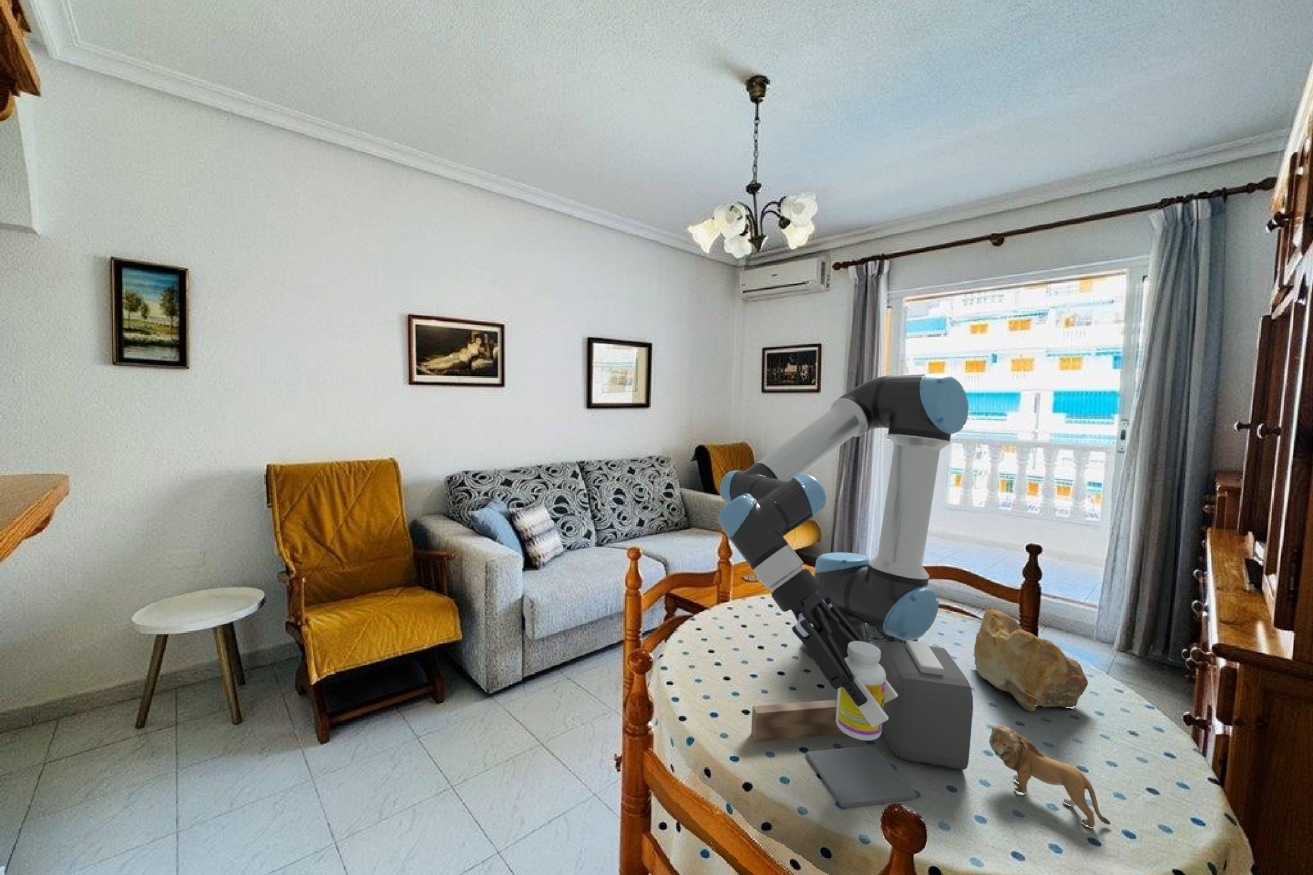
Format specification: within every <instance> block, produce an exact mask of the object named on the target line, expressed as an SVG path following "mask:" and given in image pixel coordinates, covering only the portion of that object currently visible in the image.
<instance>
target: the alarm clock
mask: <svg viewBox="0 0 1313 875" xmlns="http://www.w3.org/2000/svg"><path fill="white" fill-rule="evenodd" d="M878 648H879V649H880V651H881V657H880V660H879V662H878V664H880V665H881V666H882V667H883V669H884V671H885V673H886V680H887V681H888V683H889V684H890V685H891V687H892V688H893V689H894V690H895V692H896V693H897V694H898V696H897V697H896V698H894V699H892V700H890V701H888V702H887V703H885V704H884V709H883V711H884V712H885V713H886V715H887V716H888V717H889V718H888V720H887V721H885V722H883V723H882V731H883V733H884V735H885V739H886V742H887V745H888V746H889V748H890V750H891V751H893V753H895V755H896V756H897V757H898V758H900V759H903V760H905V761H909V762H915V763H921V764H927V765H933V766H937V767H944V768H945V767H946V768H951V769H956V770H963V771H964V770H966V769H968V766H969V761H970V750H971V748H970V747H971V738H972V727H973V725H972V723H973V711H974V696H973V691H972V687H971V684H970V682H969V680H968V679H967V677H966V675H965V674H964V673H963V671H962V670H961V669H960V667H959V666H958V664H957V663H956V662H955V660H954V659H953V657H952V656H951V654H949V652H948V650H947V649H946V648H944V647H941V646H931V645H928V643H927V642H926V641H925V642H924V641H910V640H907V641H906V643H900V642H889V641H887V642H885V643H883V644H882V645H881V646H879V647H878Z"/></svg>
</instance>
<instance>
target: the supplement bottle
mask: <svg viewBox="0 0 1313 875" xmlns="http://www.w3.org/2000/svg"><path fill="white" fill-rule="evenodd" d="M879 648H880V647H877V645H874V644H873V643H871V642H870V643H867V642H862V641H853V642H850V643H849V644H848V649H847V653H848V657H846V658H844V660H845V661H846V663H847V665H848V667H849V669H850V670H851V672H852V674H853V676H854V678H855V677H856V676H858V677H859V679H860V680H861V681H862V683H863V684H864V685H865V687H866V688H867V689H868V691H869V692H870V693H871V695H872V696H873V697H874V699H875V700H876V701H877V703H878V704H879V705H880V707H881V708H882V709H884V695H885V682H886V673H885V671H884V669H883V667H882V666H881V665H880V664H878V662H879V660H880V657H881V651H880V649H879ZM836 697H837V698H836V700H837V708H836V723H837V725H838V727H839V728H840V730H841V731H843V732H844V733H843V734H845V735H846V736H848V737H851V738H852V739H856V740H860V741H874V740H876V739H877V740H878V738H879V737H880V736H881V735H882V733H883V732H882V731H883V728H882V723H881V724H879V725H877V726H875V727H873V728H872V726H871V725H870V724H869V722H868V721H867V720H866V718H865V717H864V716H863V714H862V713H861V711H860V710H859V709H858V707H857V706H856V705H855V703H854V702H853V700H852V699H851V698H850V696H849V695H848V694H847V692H846V691H845V689H844V688H843V687H840V688H838V689H837V696H836Z"/></svg>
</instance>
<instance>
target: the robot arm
mask: <svg viewBox="0 0 1313 875" xmlns="http://www.w3.org/2000/svg"><path fill="white" fill-rule="evenodd" d="M968 416H969V401H968V397H967V393H966V391H965V390H964V387H963V385H962V383H961V382H959V381H958V380H957V379H956V378H955V377H953V376H951V375H947V374H935V373H934V374H933V373H925V374H923V373H922V374H903V375H882V376H878V377H875V378H872V379H869V380H868V381H865V382H863V383H861V384H859V385H857V386H856V387H854V388H852V389H850V390H849V391H847V392H846V393H844V394H843V395H842V396H839V398H837V399H836V400H834V401H833V402H832V404H831V406H830V409H829V410H828V411H827V412H826V413H824V414H823V415H821V416H820V417H819V418H817V419H815V421H812V422H811V423H810V424H809V425H808V426H806V427H804V428H803V429H802V430H800V431H799V432H797V433H796V434H794V435H793V436H792V437H790V438H789V439H788V440H786V441H785V442H784V443H783V444H781V445H780V446H778V447H777V448H775V449H774V450H773V451H771V452H770V453H768V454H767V455H766V456H764V457H763V458H761V459H759V461H757V462H756V463H755V464H753V465H752V466H750V467H749V468H747V469H746V470H741V469H739V470H732V471H731V470H730V471H728V472H727V473H726V474H725V475H724V476H723V477H722V478H721V481H720V484H719V493H720V496H721V499H722V500H723V501H724V503H726V505H724V507H722V509H721V510H720V511H719V513H718V515H717V522H718V523H719V525H720V527H721V529H722V531H723V532H724V533H725V534H726V536H727V539H728V540H729V541H731V544H733V545H734V547H735V548H736V550H737V551H738V552H739V554H740V555H741V556H742V557H743V559H744V560H745V561H746V563H747V564H748V566H749V567H750V568H751V569H752V571H753V572H754V574H755V576H756V579H757V580H758V581H760V582H761V583H762V585H763V586H764V587H765V589H766V590H771V591H772V592H770V594H771V595H770V597H772V600H774V602H775V603H776V605H777V606H778V608H779V609H780V610H781V612H783V613H786V612H788V611H791V612H792V614H793V616H794V618H795V620H796V621H797V623H796V624H794V625H793V626H792V627H791V630H792V633H793V634H795V636H796V637H797V639H799V640H800V641H801V642H802V648H803V650H804V652H805V653H806V654H807V655H808V656H809V657H811V658H812V659H813V660H814V662H815V663H816V665H817V667H818V668H819V669H820V671H821V673H822V674H823V676H824V677H825V678H826V680H827V681H828V683H829V684H830V686H831V687H832V688H833V689H835V690H838V688H840V687H843V688H844V689H845V691H846V692H847V694H848V695H849V696H850V698H851V699H852V700H853V702H854V703H855V705H856V706H857V707H858V709H859V710H860V711H861V713H862V714H863V716H864V717H865V718H866V720H867V721H868V722H869V724H870V725H871V726H872V728H873V727H875V726H877V725H879V724H881V723H883V722H885V721H887V720H888V718H889V717H888V716H887V715H886V713H885V712H884V711H883V709H882V708H881V707H880V705H879V704H878V703H877V701H876V700H875V699H874V697H873V696H872V695H871V693H870V692H869V691H868V689H867V688H866V687H865V685H864V684H863V683H862V681H861V680H860V679H859V677H858V676H856V677H855V678H854V676H853V674H852V672H851V670H850V669H849V667H848V665H847V663H846V661H845V660H844V658H846V657H848V653H847V649H848V644H849V643H850V642H853V641H862V642H867V643H870V644H871V641H870V637H869V633H868V629H867V625H868V626H871V627H873V628H875V629H876V628H877V629H879V630H881V631H883V632H885V634H887V635H889V636H894V637H896V638H899V639H901V640H904V641H907V640H910V641H912V640H916V639H919V638H921V637H923V636H924V635H925V634H926V633H927V632H928V631H929V630H930V629H931V627H932V625H933V624H934V622H935V620H936V618H937V615H938V612H939V604H940V602H939V598H938V593H936V591H935V590H933V589H932V588H931V587H930V586H929V580H930V574H929V573H928V572H927V570H926V569H925V568H924V565H923V563H924V558H925V551H926V545H927V537H928V530H929V524H930V520H931V518H930V517H931V513H932V512H931V511H932V505H933V499H934V493H935V492H934V491H935V485H936V479H937V472H938V466H939V460H940V453H941V450H942V449H944V448H946V447H947V446H948V445H950V443H951V438H952V437H951V436H952V435H954V434H956V433H959V432H961V431H962V430H963V428H964V425H966V424H967V421H968ZM882 428H884V429H887V430H888V432H887V437H888V438H889V439H890V440H891V441H892V443H893V451H892V455H891V456H892V458H891V464H890V471H889V477H888V484H887V489H886V497H885V503H884V510H883V517H882V524H881V530H880V536H879V544H878V549H877V550H878V551H877V555H876V557H874V558H872V559H871V560H870V558H869V557H868V556H867V555H864V554H861V553H853V552H827V553H823V554H820V555H819V556H818V557H817V558H816V560H815V568H814V572H813V573H814V575H813V573H812V572H811V571H810V569H808V568H807V567H806V568H804V567H803V565H804V561H803V560H802V558H801V557H800V556H799V555H798V554H797V553H796V551H795V550H794V548H793V547H791V545H790V544H789V543H788V541H787V540H786V538H785V536H786V535H787V534H789V533H791V532H792V531H793V530H795V529H797V528H798V527H800V526H801V525H803V524H804V523H806V522H808V521H809V520H811V519H813V518H814V516H815V515H816V514H818V513H819V512H821V511H822V510H823V509H824V508H825V506H826V505H827V496H826V493H825V492H826V491H825V488H824V487H823V485H822V484H821V482H820V481H818V479H816V478H815V476H812V475H811V474H808V473H806V472H808V471H809V470H811V469H812V468H813V467H814V466H815V465H817V464H818V463H820V462H821V461H822V460H824V459H825V458H826V457H828V456H829V455H831V453H833V452H834V451H836V450H837V449H839V447H841V446H842V445H843V444H845V443H846V442H847V441H848V440H850V439H851V438H852V437H861V436H862V435H865V433H867V432H868V431H872V430H876V429H882ZM877 629H876V630H877ZM897 696H898V694H897V693H896V692H895V690H894V689H893V688H892V687H891V685H890V684H889V683H888V681H887V680H886V682H885V695H884V704H885V703H887V702H888V701H890V700H892V699H894V698H896V697H897Z"/></svg>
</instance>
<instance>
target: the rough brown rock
mask: <svg viewBox="0 0 1313 875" xmlns="http://www.w3.org/2000/svg"><path fill="white" fill-rule="evenodd" d="M973 656H974V665H975V669H976V671H977V674H978V675H979V676H980V677H981V678H982V679H984V680H987V681H988V682H989V683H990V684H991V685H993V687H994V688H996V689H998V690H1001V691H1004V692H1007V693H1009V694H1011V695H1012V696H1013V698H1014V699H1015V700H1016V701H1017V703H1018V704H1019V706H1021V707H1022V708H1023V709H1024V710H1025V709H1026V710H1028V711H1027V712H1034V711H1036V710H1037V709H1036V708H1037V707H1038V706H1043V707H1042V708H1051V707H1054V708H1055V707H1062V708H1064V707H1065V708H1064V709H1066V707H1073V706H1076V705H1077V706H1078V701H1079V699H1080V697H1081V696H1082V695H1083V694H1084V692H1085V690H1086V689H1087V687H1088V686H1089V681H1088V678H1087V677H1086V674H1085V672H1084V671H1083V668H1082V665H1081V664H1080V663H1079V662H1078V660H1075V659H1073V658H1070V657H1068V656H1066V655H1065V654H1064V652H1063V651H1062V649H1061V647H1059V646H1058V645H1056V644H1054V642H1052V641H1051V640H1049V639H1046V638H1041V637H1038V636H1036V635H1035V634H1033V633H1031V632H1029V631H1026V630H1024V629H1023V628H1022V626H1021V625H1020V624H1019V623H1018V622H1017V621H1016V619H1015V618H1014V617H1012V616H1011V615H1008V614H1007V613H1004V612H1002V611H1001V610H997V609H993V608H988V609H985V612H984V614H983V617H982V620H981V624H980V628H979V631H978V632H977V633H976V637H975V644H974V648H973ZM1036 705H1037V706H1036ZM1077 706H1076V707H1077ZM1026 710H1025V711H1026ZM1033 710H1034V711H1033Z"/></svg>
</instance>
